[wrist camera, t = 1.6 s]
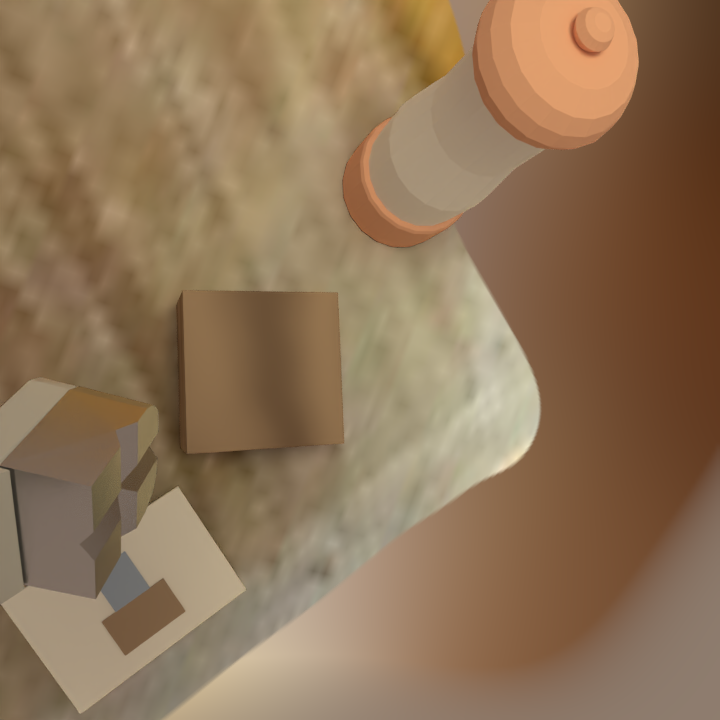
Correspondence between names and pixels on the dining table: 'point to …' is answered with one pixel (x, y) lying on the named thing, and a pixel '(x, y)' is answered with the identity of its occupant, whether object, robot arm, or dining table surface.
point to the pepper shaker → (493, 114)
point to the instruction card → (129, 604)
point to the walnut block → (258, 370)
